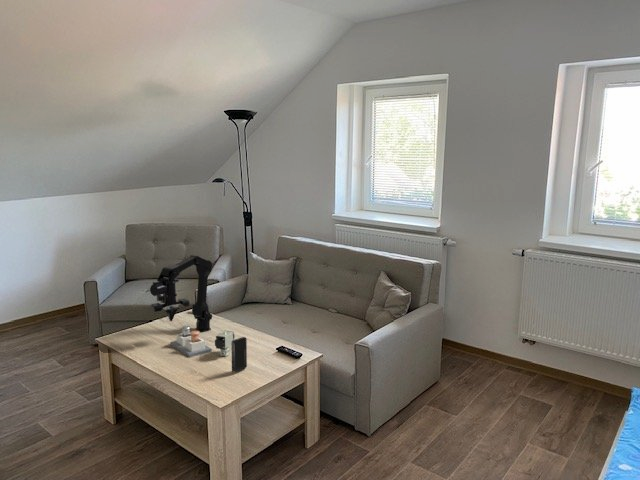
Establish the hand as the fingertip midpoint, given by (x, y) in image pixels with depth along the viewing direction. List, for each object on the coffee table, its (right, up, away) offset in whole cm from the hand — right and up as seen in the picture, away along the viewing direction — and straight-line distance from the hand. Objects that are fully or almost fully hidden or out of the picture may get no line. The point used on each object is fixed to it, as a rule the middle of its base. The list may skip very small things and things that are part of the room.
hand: (170, 320), depth 255 cm
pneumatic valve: (+30, -15, -12) cm, 35 cm away
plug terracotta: (+14, -9, -8) cm, 19 cm away
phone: (+40, -18, -29) cm, 53 cm away
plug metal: (+8, -8, 0) cm, 11 cm away
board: (+11, -13, -3) cm, 18 cm away
